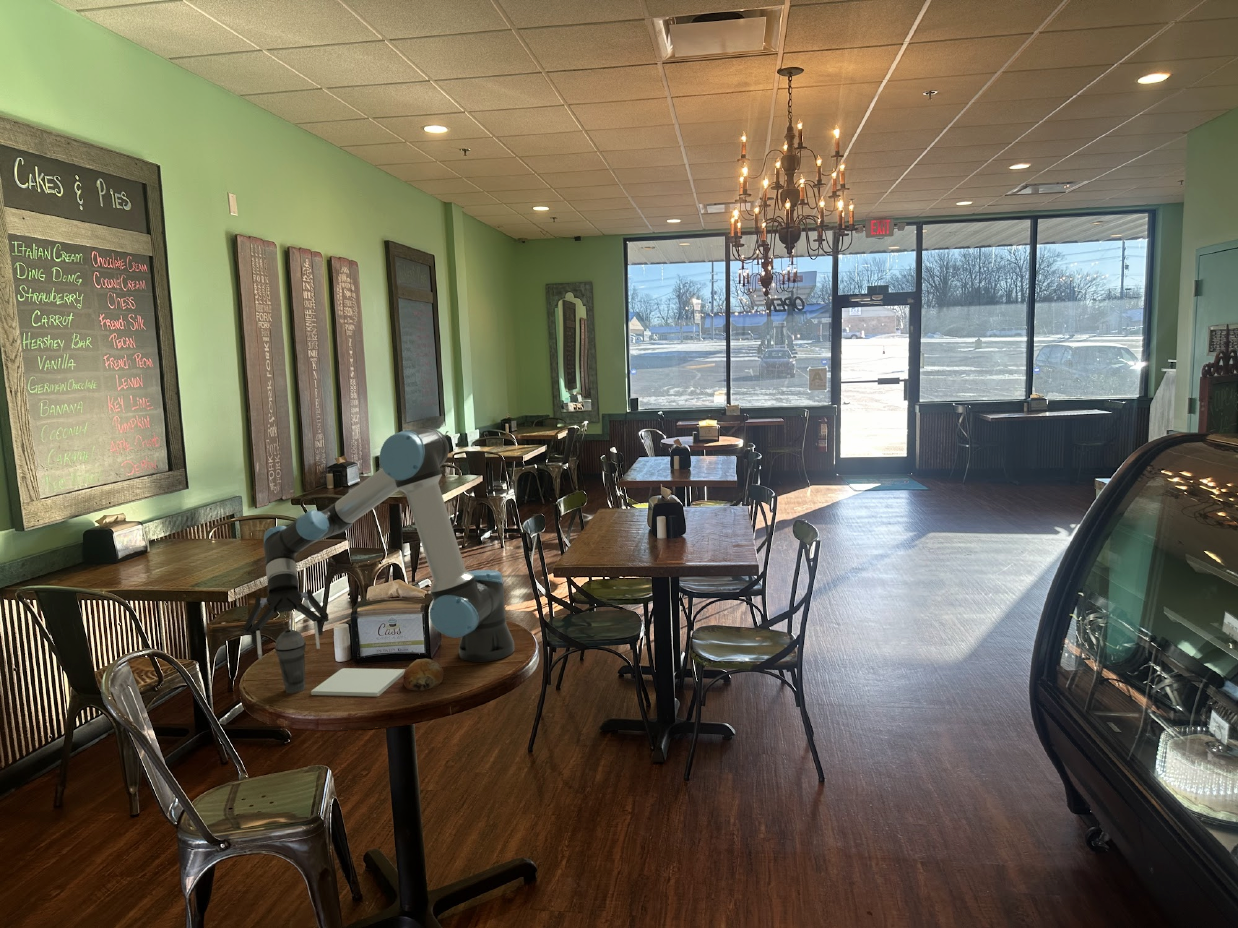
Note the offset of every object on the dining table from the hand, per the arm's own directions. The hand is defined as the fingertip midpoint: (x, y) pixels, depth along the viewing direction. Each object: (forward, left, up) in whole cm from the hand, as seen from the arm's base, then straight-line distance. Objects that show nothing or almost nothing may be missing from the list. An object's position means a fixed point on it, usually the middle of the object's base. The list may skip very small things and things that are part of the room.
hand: (289, 651), depth 206 cm
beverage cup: (0, -1, -11) cm, 11 cm away
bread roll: (-32, -7, -11) cm, 35 cm away
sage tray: (-15, -6, -11) cm, 19 cm away
